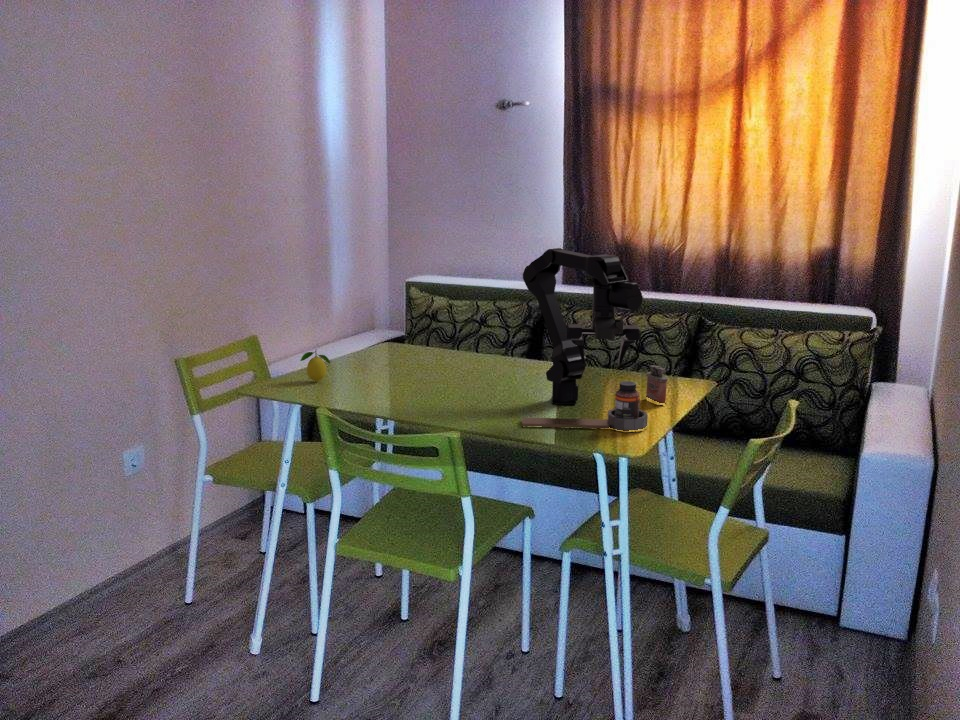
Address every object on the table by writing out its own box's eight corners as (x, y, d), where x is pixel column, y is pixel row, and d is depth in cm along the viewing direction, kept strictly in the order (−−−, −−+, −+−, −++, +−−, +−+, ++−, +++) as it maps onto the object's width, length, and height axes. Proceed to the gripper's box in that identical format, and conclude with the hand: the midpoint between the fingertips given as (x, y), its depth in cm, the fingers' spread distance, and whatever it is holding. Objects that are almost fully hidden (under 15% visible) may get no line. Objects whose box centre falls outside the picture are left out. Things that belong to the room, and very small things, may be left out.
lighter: (642, 398, 254) (644, 363, 252) (653, 397, 255) (655, 362, 253) (657, 406, 247) (660, 370, 244) (668, 405, 248) (671, 369, 246)
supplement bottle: (632, 422, 233) (634, 379, 230) (642, 429, 227) (644, 385, 225) (610, 424, 231) (612, 380, 229) (619, 431, 226) (622, 386, 223)
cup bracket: (521, 430, 226) (522, 416, 225) (522, 418, 235) (522, 405, 234) (648, 433, 224) (649, 419, 224) (644, 421, 234) (644, 408, 233)
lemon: (301, 383, 266) (299, 349, 264) (311, 378, 271) (309, 345, 269) (321, 385, 264) (320, 351, 262) (331, 380, 269) (330, 347, 267)
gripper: (568, 310, 226) (566, 371, 230) (645, 311, 225) (641, 373, 229) (566, 302, 237) (564, 361, 241) (639, 303, 236) (636, 362, 240)
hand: (601, 364), depth 237 cm, fingers open, 9 cm apart
